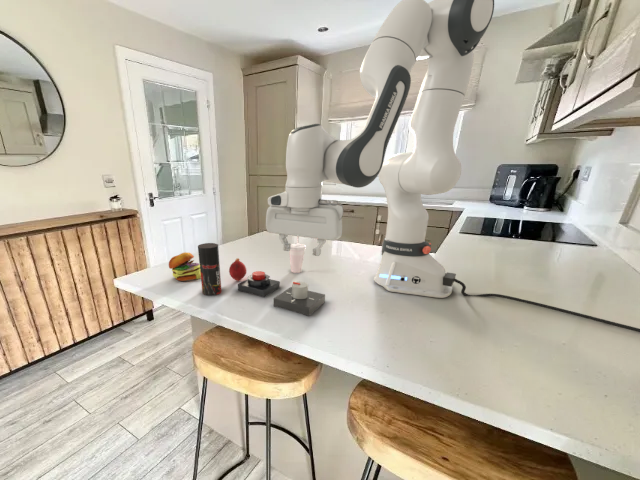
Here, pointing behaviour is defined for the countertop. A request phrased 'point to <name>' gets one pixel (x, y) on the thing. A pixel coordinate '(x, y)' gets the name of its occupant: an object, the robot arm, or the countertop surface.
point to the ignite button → (258, 275)
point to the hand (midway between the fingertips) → (301, 252)
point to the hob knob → (299, 290)
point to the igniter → (259, 286)
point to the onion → (237, 270)
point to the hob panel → (299, 302)
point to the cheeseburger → (184, 267)
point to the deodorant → (209, 269)
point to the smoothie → (297, 256)
